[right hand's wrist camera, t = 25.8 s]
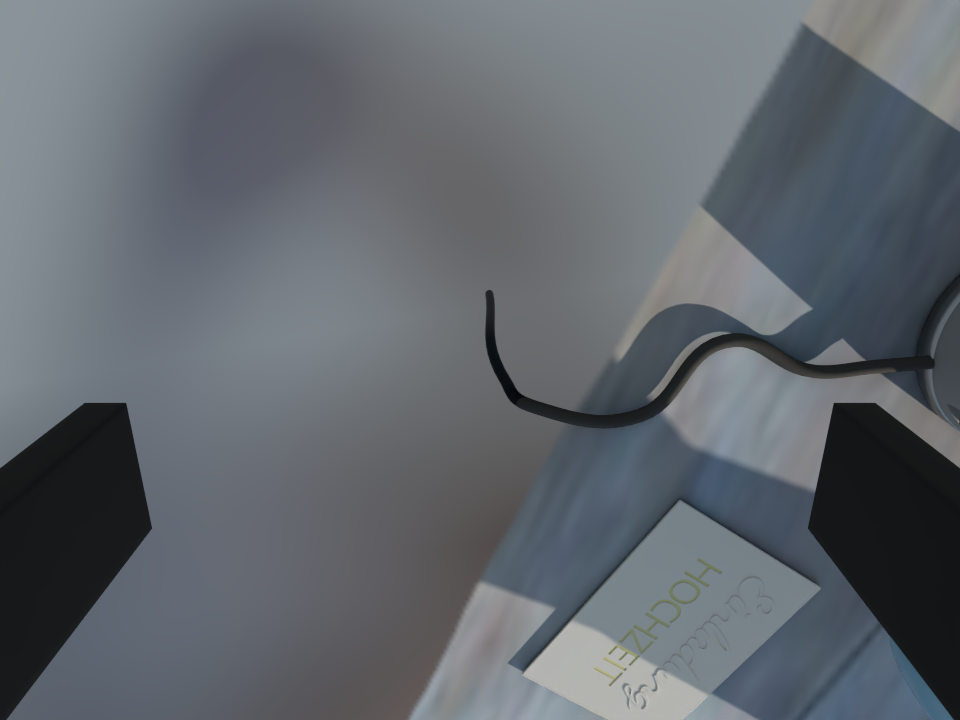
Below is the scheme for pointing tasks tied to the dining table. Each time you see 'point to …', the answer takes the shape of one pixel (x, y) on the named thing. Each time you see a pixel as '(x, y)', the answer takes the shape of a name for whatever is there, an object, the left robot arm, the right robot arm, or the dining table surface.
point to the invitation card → (671, 622)
